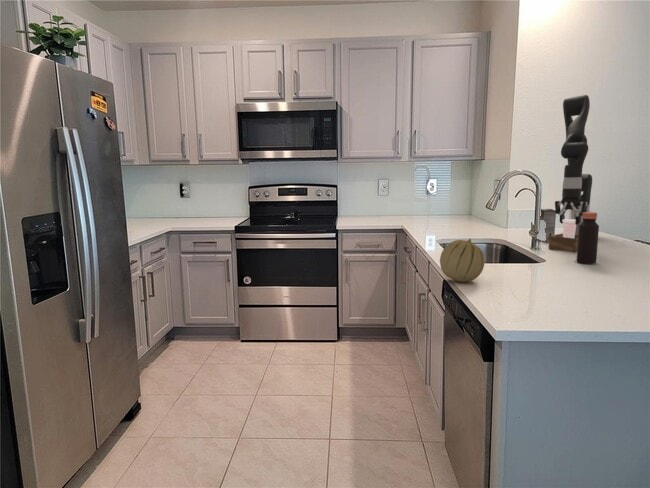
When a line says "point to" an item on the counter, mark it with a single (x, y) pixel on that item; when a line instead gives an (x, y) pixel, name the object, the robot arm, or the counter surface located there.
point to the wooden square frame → (563, 243)
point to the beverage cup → (569, 227)
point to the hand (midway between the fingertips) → (569, 223)
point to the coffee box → (548, 222)
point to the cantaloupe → (462, 261)
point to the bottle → (588, 239)
